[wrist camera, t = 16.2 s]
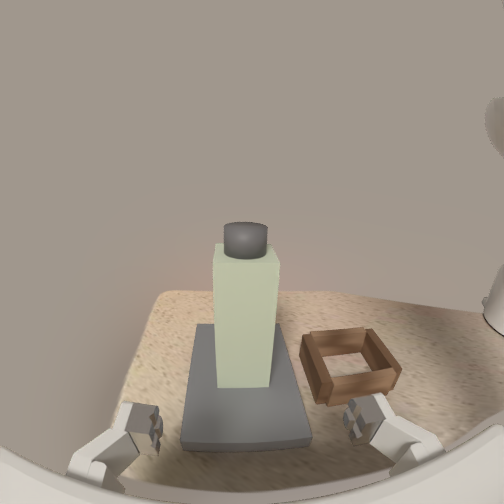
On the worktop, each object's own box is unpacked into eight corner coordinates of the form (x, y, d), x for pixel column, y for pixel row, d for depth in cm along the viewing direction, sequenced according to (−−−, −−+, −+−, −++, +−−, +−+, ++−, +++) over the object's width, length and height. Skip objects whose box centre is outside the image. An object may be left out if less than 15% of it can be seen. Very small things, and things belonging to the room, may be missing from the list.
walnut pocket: (364, 346, 31) (370, 326, 30) (394, 392, 22) (404, 371, 21) (298, 353, 30) (301, 332, 29) (317, 408, 22) (323, 386, 21)
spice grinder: (263, 356, 27) (272, 220, 23) (268, 387, 23) (282, 235, 18) (218, 356, 27) (216, 219, 22) (217, 387, 22) (212, 234, 18)
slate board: (278, 333, 34) (279, 323, 33) (309, 446, 18) (312, 437, 17) (198, 333, 33) (197, 323, 32) (182, 450, 17) (180, 441, 16)
